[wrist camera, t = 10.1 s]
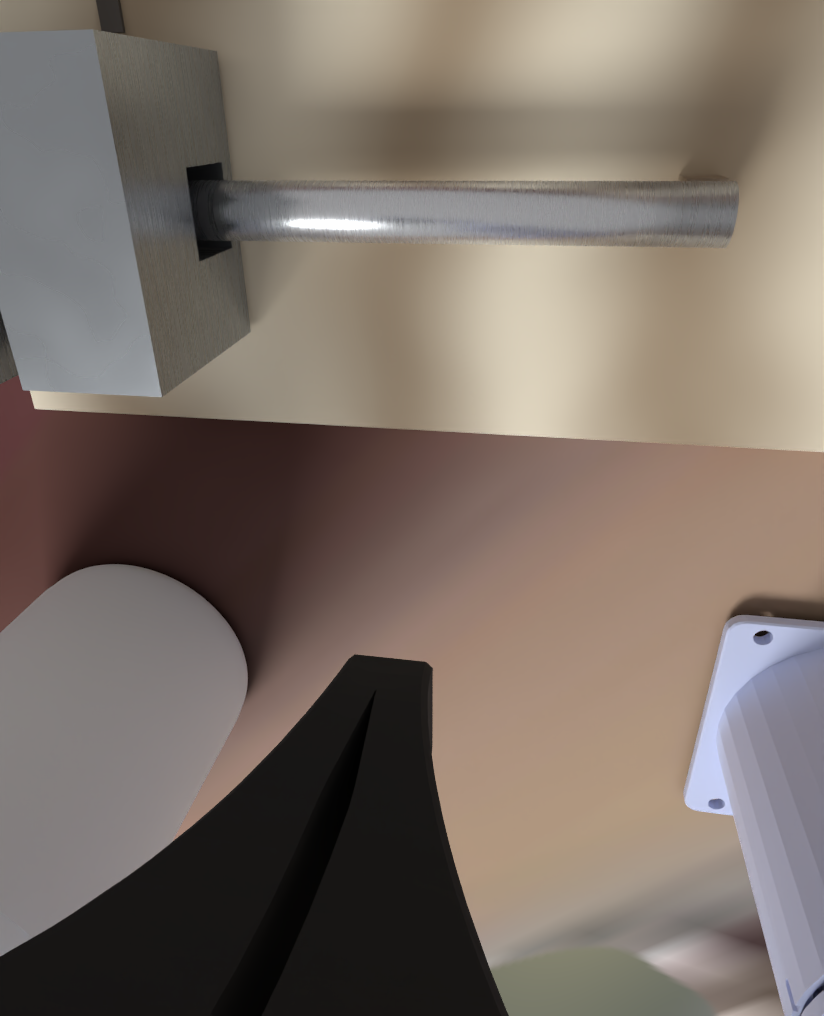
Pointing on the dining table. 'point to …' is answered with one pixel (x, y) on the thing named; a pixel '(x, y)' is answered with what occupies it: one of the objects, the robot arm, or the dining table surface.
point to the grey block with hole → (112, 213)
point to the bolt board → (507, 214)
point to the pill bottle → (104, 734)
